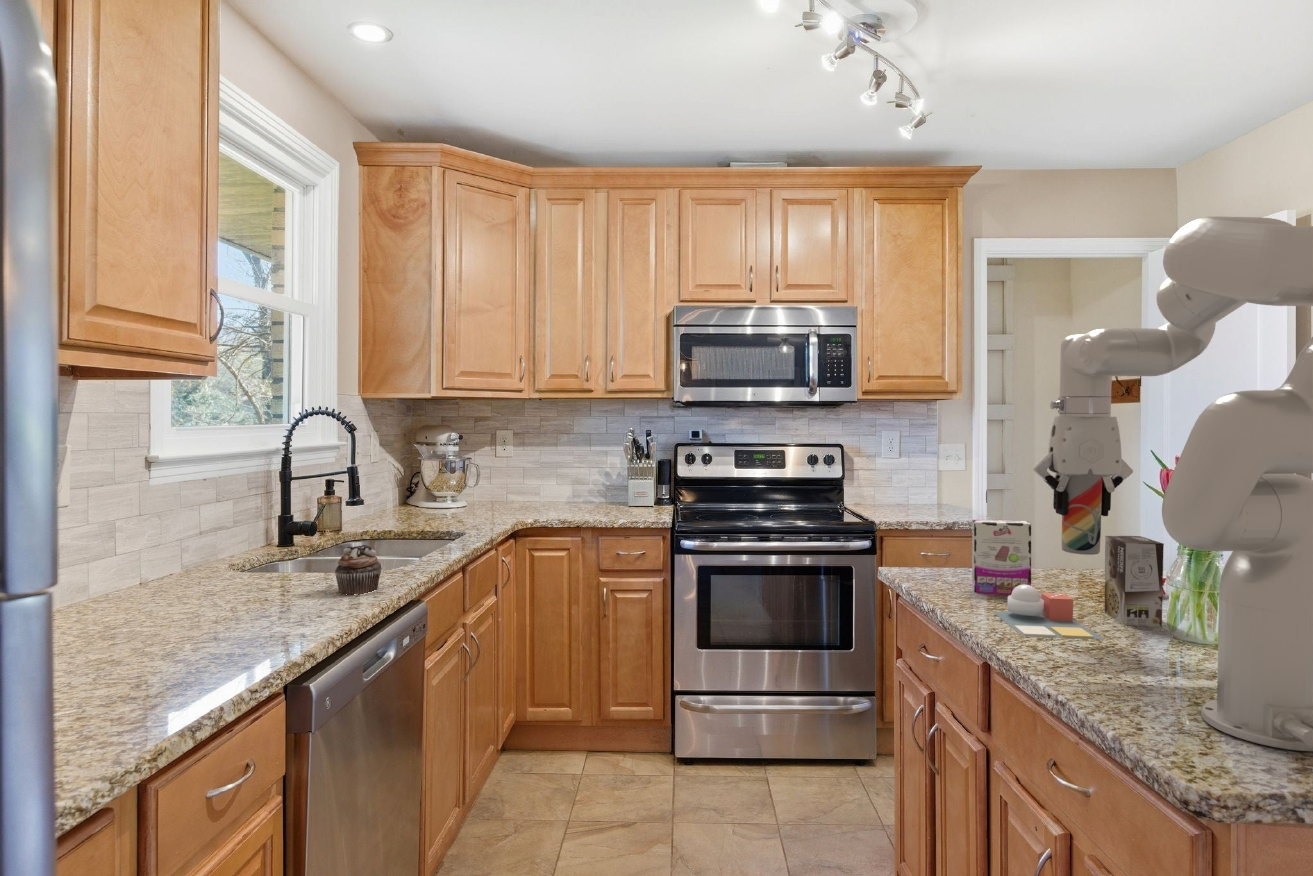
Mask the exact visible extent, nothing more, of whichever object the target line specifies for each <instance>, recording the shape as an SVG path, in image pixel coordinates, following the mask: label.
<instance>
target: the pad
mask: <svg viewBox="0 0 1313 876" xmlns="http://www.w3.org/2000/svg"><path fill="white" fill-rule="evenodd" d="M1050 629H1052V630H1053V631H1055V632H1056V633H1057V634H1059V635H1060V636H1062V637H1078V638H1094V636H1093V635H1091V634H1089V633H1088V632H1086V631H1085V630H1083V629H1082V628H1072V627H1050Z"/></svg>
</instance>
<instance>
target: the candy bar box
mask: <svg viewBox="0 0 1313 876" xmlns="http://www.w3.org/2000/svg"><path fill="white" fill-rule="evenodd" d="M1023 584H1025V585H1030V586H1032V523H1030V521H1028V520H1006V519H1005V520H1003V519H1002V520H1001V519H999V520H998V519H972V520H971V590H972V592H973V593H976V594H977V593H978V594H988V595H989V594H991V595H1007V596H1010V595H1011V594H1012V591H1013V590H1014V588H1015V587H1017V586H1019V585H1023Z"/></svg>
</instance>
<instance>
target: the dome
mask: <svg viewBox="0 0 1313 876" xmlns="http://www.w3.org/2000/svg"><path fill="white" fill-rule="evenodd" d="M1007 612H1012V613H1015V614H1020V615H1028V616H1039V615H1043V614H1044V600H1043V599H1041V595H1040V593H1039V591H1038V590H1037V589H1036V588H1035V587H1034V586H1032V585H1031V586H1030V585H1025V584H1023V585H1019V586H1017V587H1015V588H1014V590H1013V591H1012V594H1011V595H1007Z"/></svg>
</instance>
